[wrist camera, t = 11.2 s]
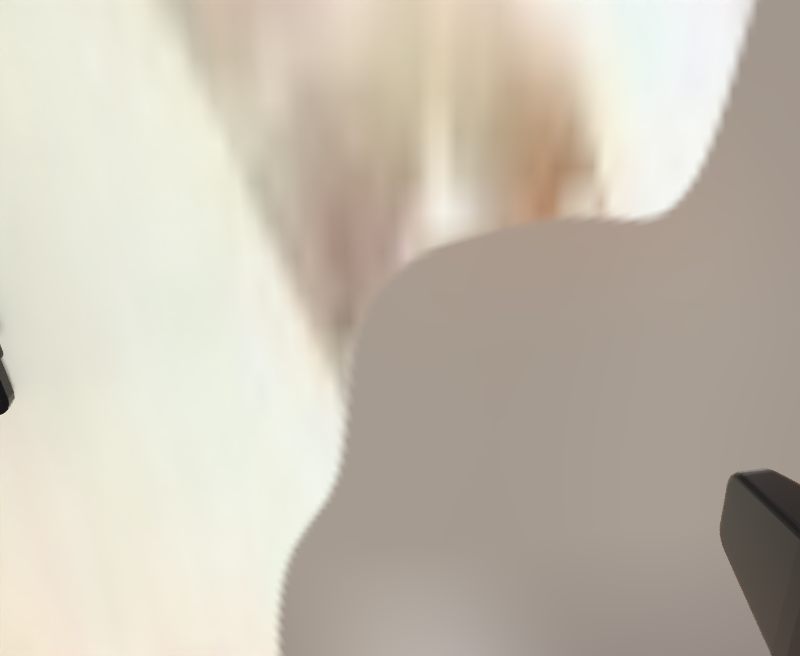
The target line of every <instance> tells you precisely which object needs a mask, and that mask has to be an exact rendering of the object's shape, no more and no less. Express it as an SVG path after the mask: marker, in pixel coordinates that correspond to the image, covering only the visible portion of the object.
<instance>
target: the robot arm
mask: <svg viewBox="0 0 800 656" xmlns="http://www.w3.org/2000/svg"><path fill="white" fill-rule="evenodd" d="M2 356H3V351H2V348H1V346H0V415H1V414H3V413H5V412H6V411H7V410H8V409H9V407H10V406H11V404H12V403H13V400H14V391H13V389H12V387H11V384H10V382H9V379H8V377H7V374H6V372H5V369H4V367H3V364H2V362H1V358H2ZM720 537H721V542H722V545H723V548H724V550H725V553H726V555H727V557H728V560H729V562H730V564H731V566H732V568H733V571H734V573H735V575H736V577H737V580H738V582H739V584H740V586H741V589H742V591H743V593H744V595H745V598H746V600H747V602H748V605H749V607H750V609H751V611H752V614H753V616H754V618H755V620H756V622H757V625H758V627H759V629H760V631H761V634H762V636H763V638H764V640H765V643H766V645H767V647H768V649H769V652H770V654H771V656H800V484H798V483H797V482H795V481H793V480H791V479H789V478H787V477H785V476H783V475H781V474H779V473H778V472H775V471H773V470H770V469H756V470H748V471H741V472H736V473H734V474H732V476H731V477H730V478H729V480H728V483H727V488H726V494H725V500H724V505H723V511H722V517H721V522H720Z"/></svg>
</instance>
